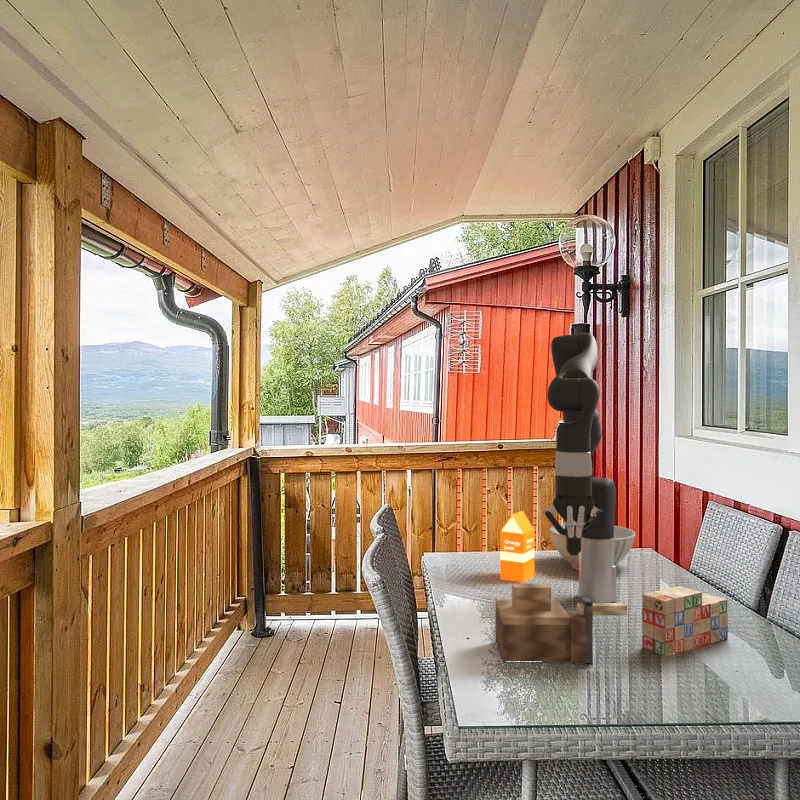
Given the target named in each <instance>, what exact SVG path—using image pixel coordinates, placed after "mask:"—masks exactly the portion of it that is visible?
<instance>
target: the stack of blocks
mask: <svg viewBox="0 0 800 800" xmlns="http://www.w3.org/2000/svg"><path fill="white" fill-rule="evenodd" d="M641 613H642V618H641V620H642V648H643V647H644V648H643V649H645V648H646V650H647V649H648V651H650V650H651V651H650V652H652V651H653V652H652V653H655V652H657V653H656V654H658V653H659V654H658V655H660V654H661V655H660V656H663V655H664V656H663V657H668V656H667V655H669V656H671V655H670V654H673V653H677V654H679V653H678V652H681V653H683V652H682V651H684V652H687V651H686V650H688V651H691V650H690V649H692V650H694V649H693V648H695V649H697V648H696V647H698V648H700V647H699V646H701V647H704V646H707V645H706V644H708V645H710V644H709V643H712V644H714V643H713V642H715V643H717V642H716V641H719V642H721V641H720V640H723V639H726V640H728V638H729V636H728V635H729V613H728V599H727V598H723V597H720V596H716V595H712V594H708V593H706V592H701V591H699V590H696V589H695V590H694V589H690V588H686V587H684V586H680V585H678V586H673V587H672V586H671V587H668V588H663V589H660V590H656V591H652V592H651V591H650V592H646V593H642V612H641ZM723 641H724V640H723ZM703 645H704V646H703ZM673 655H674V654H673Z"/></svg>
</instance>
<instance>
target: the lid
mask: <svg viewBox="0 0 800 800" xmlns="http://www.w3.org/2000/svg"><path fill="white" fill-rule="evenodd" d="M496 609H497V611H498V614H499V616H500V618H501V621H502V623H503V625H570V617H569V615H568V614H567V613H566V612H567V611H566V610H565V609H564V607H563V606H562V604H561V603H560V602H559V600H557V599H556V600H555V599H553V600H552V587H551V585H550V584H549V583H511V599H510V600H508V599H506V600H505V599H504V600H503V599H495V610H496Z"/></svg>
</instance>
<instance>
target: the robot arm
mask: <svg viewBox="0 0 800 800" xmlns="http://www.w3.org/2000/svg"><path fill="white" fill-rule="evenodd" d="M550 348H551V357H552V362H553V363H552V364H553V367H554V373H555V377H554V378H553V379H552V380H551V382H550V384H549V386H548V389H547V393H546V394H547V396H546V397H547V398H546V399H547V402H548V405H549V406H550V407H551V408H552V409H553V410H554V411H557V412H562V420H563V423H561V424H558V426H557V427H556V435H555V437H556V442H555V443H556V445H555V446H556V447H555V448H556V454H555V459H554V460H555V461H554V468H555V469H554V472H555V473H554V488H555V489H554V491H555V492H554V499H553V500H552V505H551V506H550V507H549V508H547V509H544V510H543V511H542V513H543V516H545V518H546V519H547V520H548V522H550V524H551V525H552V526H554V528H555V529H556V530H557V532H558V533H560V534H561V535H565V536H566V550H567V552H568V553H569V554H570V555H578V553H579V570H578V598H579V599H580V596H587V597H588V598H589V599H590V600H591V601H592V602H593V603H617V566H616V565H614V526H615V513H616V499H617V495H616V493H617V491H616V485H615V482H614V481H613V480H612V479H611V478H605V477H593V463H592V462H593V460H592V456H593V454H594V453H595V452H596V449H597V448H598V446H599V444H600V442H601V440H602V428H601V420H600V413H599V411H598V409H597V407H598V403H599V400H600V396H601V395H600V394H601V392H600V386H599V385H598V382H596V380H594V379H593V378H591V377H592V374H593V372H594V371H595V368H596V367H597V364H598V358H599V355H598V354H599V353H598V345H597V341H596V338H595V336H594V335H593V334H591V333H590V332H579V333H573V334H571V333H570V334H566V335H565V334H564V335H559V336H555V337H553V339H552V340H551V345H550ZM556 512H557V513H558V515H559V517H561V519H563V524H564V525H565V529H564V528H562V526H561V525H560V522H558V520H557V519H556V517H557V513H556ZM588 515H590V517H589V518H588V520H587V521H586V522H584V520H586V519H587V517H588ZM583 523H584V524H583ZM573 524H574V528H573Z"/></svg>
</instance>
